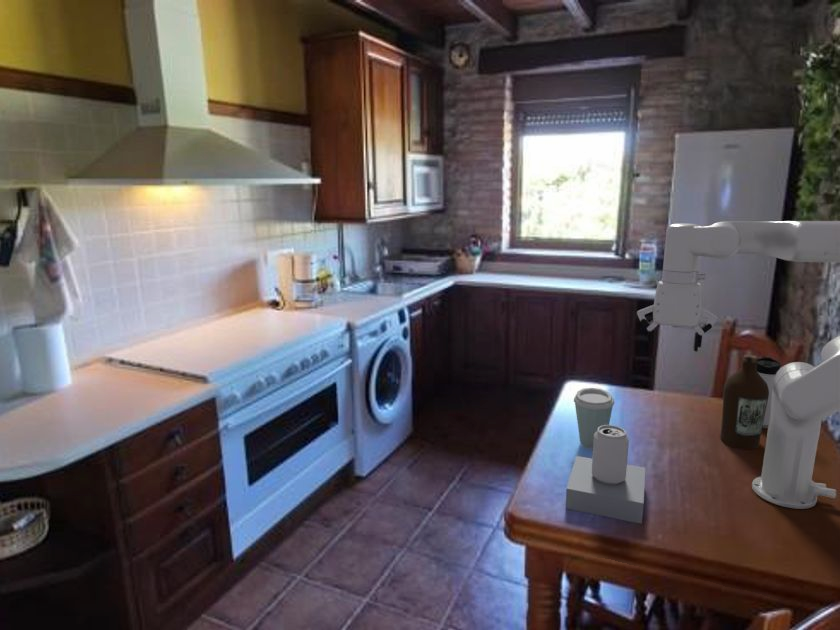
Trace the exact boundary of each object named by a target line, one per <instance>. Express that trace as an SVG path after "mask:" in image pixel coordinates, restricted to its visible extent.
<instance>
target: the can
mask: <svg viewBox="0 0 840 630" xmlns="http://www.w3.org/2000/svg"><path fill="white" fill-rule="evenodd" d="M629 443H630V439H629V436H628V435H627V430H625V429H624V428H623V427H620V426H618V425H612V424H609V425H603V426H600V427H598V429H597V431H596V432H595V434H594V443H593V449H592V458H591V459H592V475H593V476H594V477H595V478H596V479H597V480H598V481H600V482H602V483H605V484H610V485H614V484H619V483H620V482H622V481H624V480H625V478H626V470H627V465H628V456H629V454H628V453H629Z"/></svg>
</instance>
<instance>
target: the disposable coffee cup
mask: <svg viewBox="0 0 840 630" xmlns="http://www.w3.org/2000/svg"><path fill="white" fill-rule="evenodd" d="M573 402H574V406H575V413H576V421H577V422H576V423H577V428H578V434H579V436H578V437H579V442H580V444H581V446H583V448H587V449H589V450H593V443H594V434H595V432H596V431H597V429H598V427H600V426H603V425H610V422H611V417H612V412H613V407H614V405H615V398H613V395H612V394H611V393H610V392H609V391H607V390H606V389H603V388H599V387H598V388H596V387H585V388H582V389H580V390H578V391H577V392H576V394H575V396H574V398H573Z"/></svg>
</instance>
